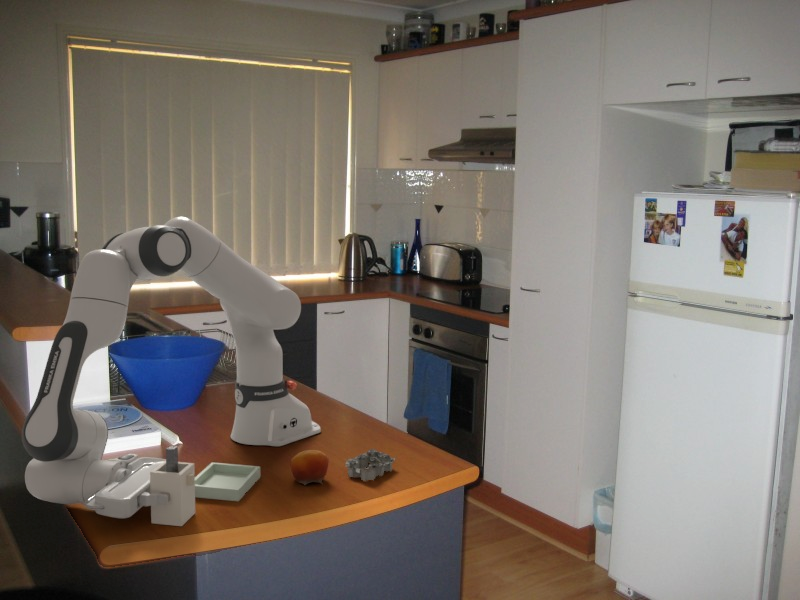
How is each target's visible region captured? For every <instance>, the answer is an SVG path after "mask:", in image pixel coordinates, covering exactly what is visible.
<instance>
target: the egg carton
mask: <svg viewBox="0 0 800 600" xmlns="http://www.w3.org/2000/svg"><path fill="white" fill-rule="evenodd" d="M395 460H396V457H395V456H394V457H393V458H392V457H391V456H390V454H386V453H384V452H381V451H377V450H375V449H374V448H370V449H368V451H366V452H363V453H360V454H358V455H357V456H355V457H353V458H348V459H346V461H345V464H344V466H345V467H347V475H348V477H349V478H351V477H354V478H359V477H361V480H364V481H363V482H367V481H366V480H373V481H375V480H376V477H382V475H383V476H384V473H385V472H384V471H386V472H388V471H390V472H392V471H393V463H395ZM368 463H370V464H368ZM366 467H367V468H366ZM378 475H379V476H378ZM374 479H375V480H374Z"/></svg>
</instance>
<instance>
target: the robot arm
mask: <svg viewBox="0 0 800 600" xmlns="http://www.w3.org/2000/svg"><path fill="white" fill-rule="evenodd" d="M178 271H180V272H181V273H183V274H184V275H185V276H187V277H188V278H189V279H190V280H192V281H193V282H194V283H196V284H197V285H198V286H199V287H201V288H202V289H203V290H205V291H206V292H207V293H209V294H210V295H211V296H213V297H215V298H216V299H218V300H219V304H220V306H221V307H220V308H222V310H223V311H224V313H225V315H226V317H227V319H228V322H229V326H230V329H231V333H232V337H233V342H234V346H235V354H236V380H235V382H234V383H235V384H234V400H235V413H234V421H233V426H232V430H231V433H230V439H231V440H232V441H234V442H237V443H239V444H243V445H252V446H271V447H282V446H285V445H288V444H291V443H293V442H297V441H299V440H302V439H305V438H308V437H311V436H314V435H316V434H319V433H321V432H322V431H321V430H322V429H321V426H320V425H319V424H318V423H317V422H315V421H313V420H312V413H311V411H310V408H309V407H308V406H307V404H306V403H304V402H302V401H301V400H300V399H298V398H297V397H296V396H294V395H293V394H291V393H290V391H289V390H291V391H294V390H296V388H297V386H298V383H296V381H292V380H286V379H284V378H283V359H284V358H283V348H282V346H281V344H280V343H279V341H278V339H277V338H276V334H275V332H274V330H275V331H276V330H287V329H289V328H291V327H293V326H294V325H295V324H296V323H297V321H298V319H299V318H300V315H301V311H302V303H301V300H300V297H299V296H298V294H297V293H296V292H295V291H293V290H291V289H290V288H289V287H287V286H285V285H283V284H282V283H281V282H279V281H278V280H276V279H275V278H273V277H272V276H270V275H269V274H268V273H266V272H264V271H263V270H261V269H260V268H259V267H257V266H255V265H254V264H252V263H251V262H249V261H247V260H246V259H244V258H243V257H242V256H240V255H239V254H238V253H237V252H236V251H234V250H233V249H232V248H231V247H230V246H228V245H227V244H226V243H225V242H224V241H222V240H221V239H220V238H219V237H218V236H217V235H215V234H214V233H212V231H210V230H209V229H207V228H205V227H204V226H203V225H201V224H199V223H197V222H196V221H195V220H192V219H191V218H189V217H186V216H176V217H173V218H170V219H169V220H168V221H167V222H165V223H164V224H157V225H153V226H143V227H139V228H134V229H132V230H129V231H126V232H121V233H118V234H115V235H114V236H112V237H111V238H110V239H108V240H107V242H106V243H105V244H104V245H103V247H102V249H94V250H91V251H89V252H87V253H86V254H85V255H84V256H83V257H82V259H81V262H80V264H79V266H78V269H77V271H76V275H75V278H74V281H73V285H72V289H71V294H70V297H69V303H68V304H69V305H68V306H67V307H68V308H67V313H66V315H65V319H64V321H63V324H62V325H61V327H60V328H59V329H58V331H57V332H56V335H55V337H54V339H53V342H52V345H51V348H50V352H49V354H48V357H47V360H46V365H45V367H44V368H45V369H44V372H43V375H42V379H41V381H40V386H39V389H38V392H37V395H36V398H35V400H34V403H33V404H32V407H31V409H30V411H29V412H28V413H27V415H26V417H25V419H24V421H23V424H22V427H21V442H22V445H23V448H24V449H25V451H26V452H27V454H28V455H29V456H30V457H32V459H31V460H30V461H29V462H28V464H27V465H26V467H25V472H24V482H25V486H26V489H27V491H28V492H29V494H31V495H32V496H33V497H35V498H37V499H38V500H41V501H45V502H50V503H54V504H61V505H62V504H63V505H75V504H82V505H84V507H85V508H86V509H87V510H90V511H91V510H92V511H93V510H94V511H95V513H96V514H98V515H101V516H103V517H108V518H109V517H110V518H115V519H128V518H130V517H132V516H133V515H135V514H136V513H137V512H138V511H139V510H140V509H141V508H143V507H151V505H156V504H163V505H165V504H167V503H168V502H169V501H170V493H168V492H160V493H156V494H151V489H150V472H151V471H152V470H153V469H155V468H156V467H157V466H159V465H160V464H161V463H162V462H164V461H166V458H160V457H153V456H152V457H149V456H143V457H142V456H141V457H139V455H138V454H135V453H128V454H125V455H122V456H119V457H116V458H108V459H106V460H105V459H103V455H104V453H105V449H106V446H107V443H108V438H109V428H108V424H107V421H106V420H105V419H104V417H103V416H102V415H101V414H99V413H98V412H96V411H92V410H87V409H79V408H78V409H76V408H74V405H73V404H74V399H75V395H76V392H77V388H78V384H79V381H80V377H81V373H82V370H83V366H84V364H85V362H86V360H87V359H88V358H89V357H90V356H91V355H92V354H93V353H95V352H96V351H99V350H101V349H104V348H107V347H109V346H110V345H112V344H113V343H115V342H116V341H117V340H118V339H119V338H120V337H121V335H122V333H123V330H124V327H125V325H126V321H127V316H128V310H129V309H128V307H129V303H130V302H129V301H130V293H131V290H132V288H133V285H134V283H135V282H143V281H151V280H154V279H158V278H161V277H168V276H171V275H173V274H175V273H177V272H178Z"/></svg>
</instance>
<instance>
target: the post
mask: <svg viewBox="0 0 800 600" xmlns="http://www.w3.org/2000/svg"><path fill="white" fill-rule="evenodd" d="M178 451H179V448H178V446H175V445H174V446H173V445H169V446H168V447H166V448H165V459H166V472H173V473H178V462H179V454H178V453H179V452H178Z"/></svg>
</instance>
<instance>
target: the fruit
mask: <svg viewBox="0 0 800 600" xmlns="http://www.w3.org/2000/svg"><path fill="white" fill-rule="evenodd" d="M329 463H330V461H329V457H328V455H327V454H326V453H325V452H323V451H321V450H317V449H305V450H303V451H301V452H298V453H297V454H295V455H294V456H293V457H292V458H291V460H290V469H291V473H292V476H293V478H294V480H295V481H296V482H297V483H299V484H302V485H304V486H306V485H308V484H310V483H319V484H322V486H324V484H323V480H324V479H325V476H326V475H327V472H328V468H329Z"/></svg>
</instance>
